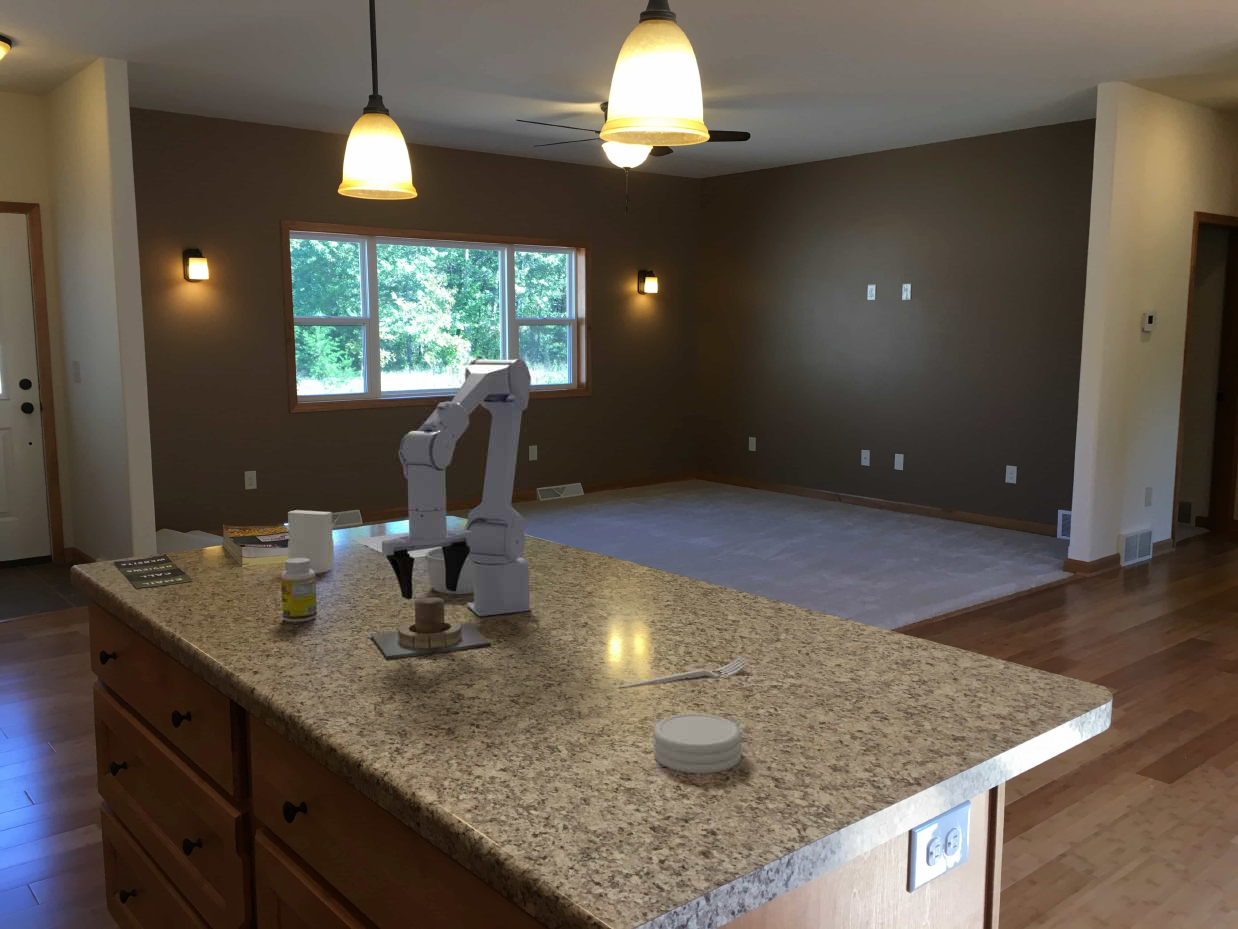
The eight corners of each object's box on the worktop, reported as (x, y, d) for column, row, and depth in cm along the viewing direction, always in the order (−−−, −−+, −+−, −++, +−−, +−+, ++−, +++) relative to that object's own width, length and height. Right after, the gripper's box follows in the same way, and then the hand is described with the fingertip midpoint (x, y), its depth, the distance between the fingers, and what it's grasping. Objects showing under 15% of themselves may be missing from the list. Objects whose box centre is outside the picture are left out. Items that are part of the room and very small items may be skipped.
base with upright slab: (280, 572, 200) (277, 514, 199) (306, 563, 209) (304, 507, 207) (318, 575, 198) (315, 517, 196) (342, 565, 206) (341, 509, 205)
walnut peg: (435, 632, 156) (435, 596, 156) (449, 639, 153) (449, 601, 152) (410, 637, 154) (409, 600, 153) (424, 644, 150) (423, 606, 149)
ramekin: (489, 596, 181) (489, 560, 180) (419, 596, 181) (418, 559, 181) (499, 579, 194) (499, 545, 194) (434, 579, 195) (433, 545, 194)
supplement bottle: (283, 615, 168) (280, 557, 167) (316, 613, 169) (314, 555, 168) (282, 624, 162) (279, 564, 161) (317, 622, 164) (314, 562, 163)
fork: (612, 689, 134) (612, 676, 134) (739, 668, 142) (739, 655, 142) (621, 697, 132) (621, 684, 131) (750, 675, 139) (750, 662, 139)
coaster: (733, 739, 116) (734, 711, 116) (748, 776, 106) (748, 745, 106) (650, 740, 116) (650, 712, 115) (656, 777, 106) (656, 746, 105)
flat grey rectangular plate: (468, 625, 162) (468, 612, 162) (490, 645, 151) (490, 631, 151) (371, 637, 155) (371, 623, 155) (387, 659, 144) (386, 644, 144)
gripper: (456, 500, 158) (458, 582, 160) (372, 509, 149) (375, 596, 151) (478, 506, 153) (479, 590, 154) (392, 516, 144) (394, 605, 146)
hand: (429, 594), depth 152 cm, fingers open, 7 cm apart
